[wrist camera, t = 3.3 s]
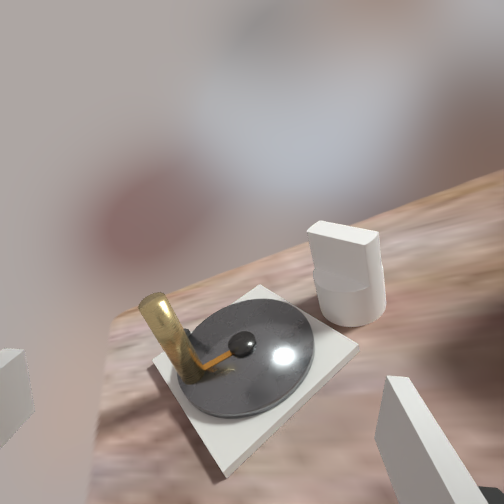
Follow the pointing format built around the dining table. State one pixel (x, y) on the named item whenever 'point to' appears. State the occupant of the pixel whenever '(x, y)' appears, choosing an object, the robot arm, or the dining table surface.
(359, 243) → the cylinder with rectangular tab
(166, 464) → the dining table surface
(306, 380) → the base plate
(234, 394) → the cam dial
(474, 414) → the dining table surface
